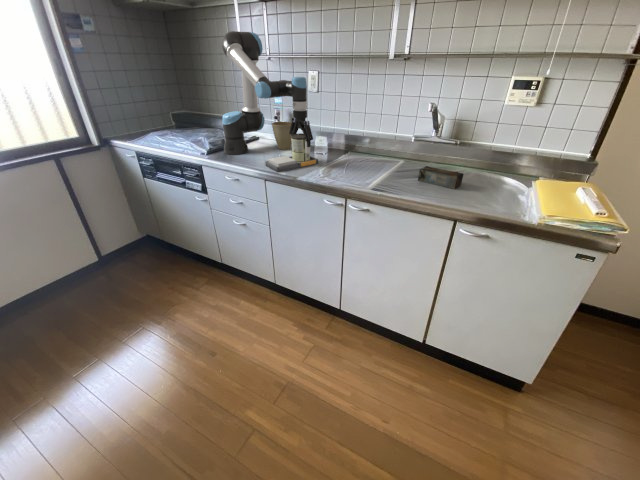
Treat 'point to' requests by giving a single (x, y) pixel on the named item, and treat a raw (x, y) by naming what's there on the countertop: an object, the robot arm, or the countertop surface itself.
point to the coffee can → (299, 148)
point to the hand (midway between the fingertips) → (301, 150)
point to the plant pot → (282, 134)
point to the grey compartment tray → (288, 163)
